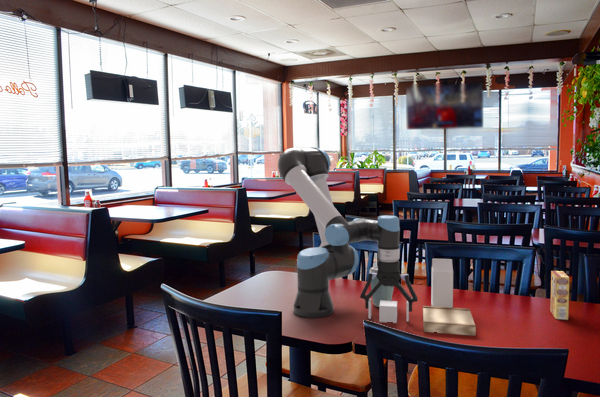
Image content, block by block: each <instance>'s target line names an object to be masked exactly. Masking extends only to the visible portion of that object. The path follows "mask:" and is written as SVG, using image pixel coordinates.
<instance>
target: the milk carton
mask: <svg viewBox="0 0 600 397" xmlns="http://www.w3.org/2000/svg"><path fill="white" fill-rule="evenodd" d="M453 268H454V267H453V259H451V258H432V260H431V284H430V286H431V288H430V289H431V292H430V293H431V294H430V298H431V299H430V300H431V302H430V304H431V305H430V306H433V307H449V308H454V305H453V304H454V269H453Z"/></svg>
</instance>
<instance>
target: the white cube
mask: <svg viewBox="0 0 600 397" xmlns="http://www.w3.org/2000/svg"><path fill="white" fill-rule="evenodd" d="M378 308H379V310H378V311H379V315H378V316H379V318H378V319H379V320H378V321H379V323H387V322H393V323H392V324H397V323H398V300H391V301H385V300H380V305H379V307H378Z"/></svg>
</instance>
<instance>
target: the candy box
mask: <svg viewBox="0 0 600 397" xmlns="http://www.w3.org/2000/svg"><path fill="white" fill-rule="evenodd" d="M550 272H551V273H550V275H551V276H550V279H551V280H550V312H551V314H552V316H553V317H554V319H556V320H563V321H568V320H569V305H570V302H569V301H570V299H569V298H570V277H569V276H568V275H567V273H565V271H563V270H560V271H559V270H551V271H550Z"/></svg>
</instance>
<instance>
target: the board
mask: <svg viewBox="0 0 600 397" xmlns="http://www.w3.org/2000/svg"><path fill="white" fill-rule="evenodd" d="M422 322H423V332H425V333H434V332H437V334H448V335H461V336H475V337H476V332H477V331H476V326H477V325H476V323H475V321H474V318H473V315H472V312H471V309H470V308H463V307H453V308H449V307H433V306H432V305H430V306H428V305H422Z"/></svg>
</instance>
